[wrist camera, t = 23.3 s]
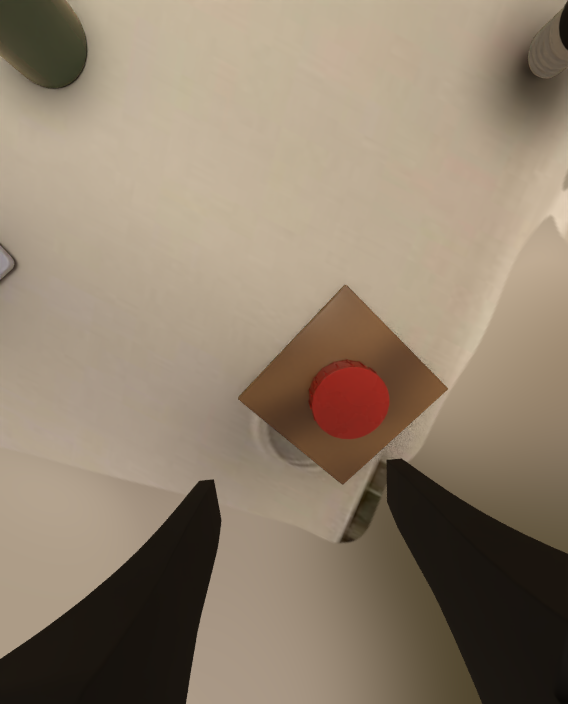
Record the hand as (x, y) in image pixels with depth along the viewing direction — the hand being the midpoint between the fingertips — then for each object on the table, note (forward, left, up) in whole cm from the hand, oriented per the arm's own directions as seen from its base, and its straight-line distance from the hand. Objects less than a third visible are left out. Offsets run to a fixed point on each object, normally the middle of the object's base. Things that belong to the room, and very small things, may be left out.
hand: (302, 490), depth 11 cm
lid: (+2, +4, -8) cm, 9 cm away
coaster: (+2, +4, -9) cm, 10 cm away
